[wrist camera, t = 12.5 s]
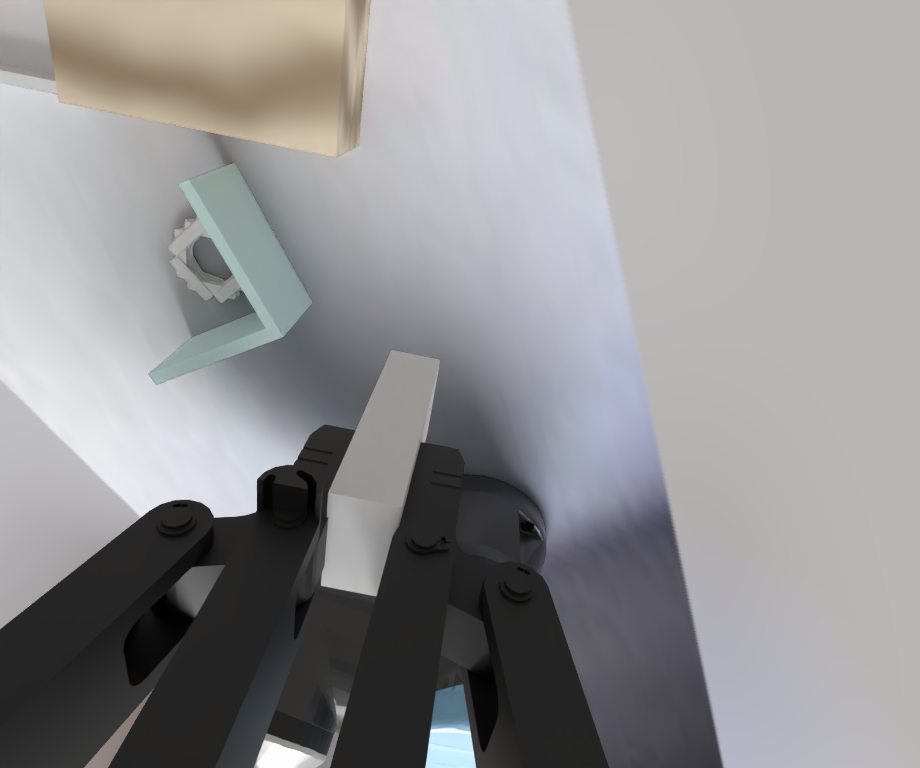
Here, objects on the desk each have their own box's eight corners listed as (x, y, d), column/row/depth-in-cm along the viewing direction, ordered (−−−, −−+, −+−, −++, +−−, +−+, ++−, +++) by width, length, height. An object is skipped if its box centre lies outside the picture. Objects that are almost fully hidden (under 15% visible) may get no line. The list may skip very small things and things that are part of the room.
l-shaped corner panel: (237, 161, 44) (188, 179, 38) (314, 300, 49) (283, 337, 43) (117, 219, 47) (53, 245, 41) (201, 344, 52) (156, 385, 46)
